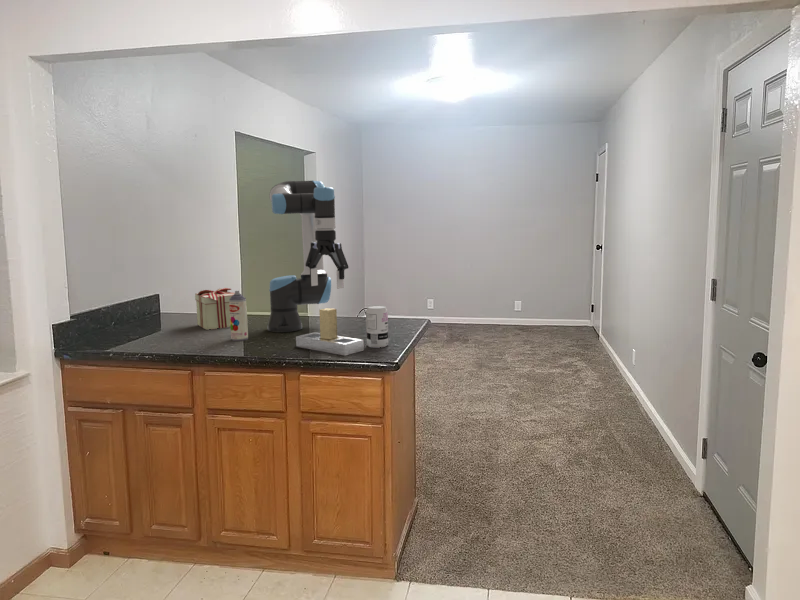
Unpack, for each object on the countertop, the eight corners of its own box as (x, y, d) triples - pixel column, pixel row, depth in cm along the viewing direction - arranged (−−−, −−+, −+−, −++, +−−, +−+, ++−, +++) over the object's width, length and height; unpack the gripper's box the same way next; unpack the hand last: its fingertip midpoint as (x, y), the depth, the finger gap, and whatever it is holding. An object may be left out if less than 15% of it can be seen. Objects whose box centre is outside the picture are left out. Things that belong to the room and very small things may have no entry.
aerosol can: (227, 340, 257) (224, 291, 254) (239, 337, 263) (236, 289, 260) (240, 341, 254) (237, 292, 251) (251, 338, 259) (249, 290, 256)
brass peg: (320, 348, 238) (319, 309, 236) (329, 346, 241) (327, 308, 239) (329, 350, 235) (327, 310, 233) (337, 348, 238) (336, 309, 236)
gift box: (210, 331, 276) (207, 292, 273) (194, 326, 290) (191, 288, 287) (246, 326, 286) (244, 289, 284) (229, 321, 300) (227, 285, 298)
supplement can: (366, 343, 245) (365, 305, 243) (387, 343, 246) (386, 305, 244) (367, 348, 237) (366, 309, 235) (389, 347, 238) (388, 308, 236)
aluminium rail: (296, 346, 242) (295, 336, 242) (315, 341, 250) (315, 332, 250) (345, 355, 226) (344, 344, 226) (363, 350, 234) (363, 339, 233)
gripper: (294, 229, 237) (297, 285, 240) (342, 230, 221) (344, 290, 224) (309, 228, 242) (311, 283, 246) (357, 229, 227) (358, 288, 230)
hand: (327, 286), depth 235 cm, fingers open, 13 cm apart
